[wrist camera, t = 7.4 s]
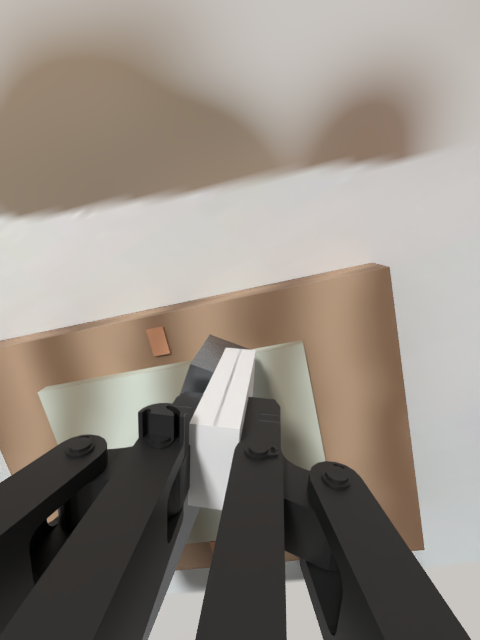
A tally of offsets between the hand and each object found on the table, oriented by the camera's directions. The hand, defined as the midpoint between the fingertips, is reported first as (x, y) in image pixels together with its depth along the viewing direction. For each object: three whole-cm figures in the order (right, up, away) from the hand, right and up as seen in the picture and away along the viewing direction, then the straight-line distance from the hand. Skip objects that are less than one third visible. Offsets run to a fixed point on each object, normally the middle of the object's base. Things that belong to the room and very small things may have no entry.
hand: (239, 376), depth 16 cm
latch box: (-3, -5, +8) cm, 10 cm away
